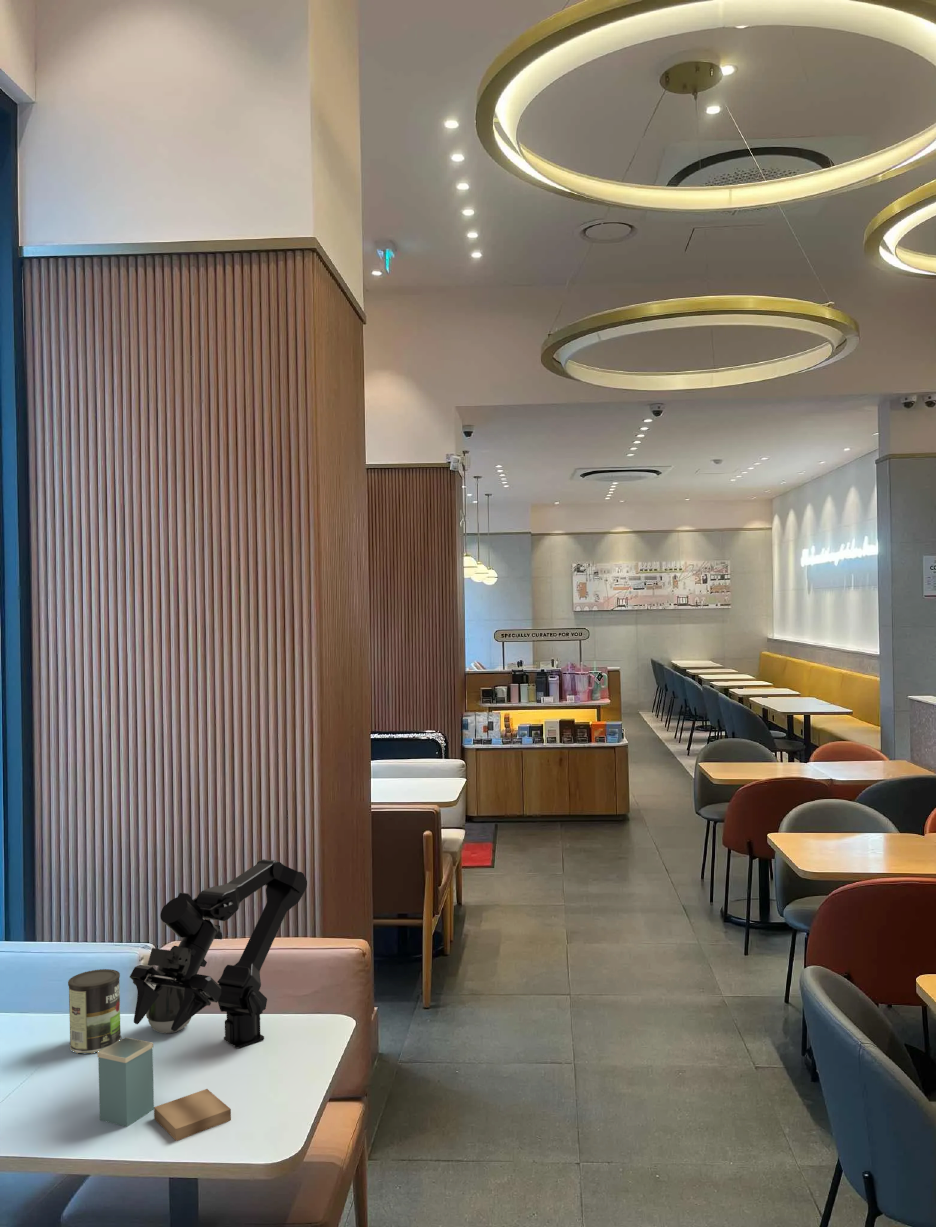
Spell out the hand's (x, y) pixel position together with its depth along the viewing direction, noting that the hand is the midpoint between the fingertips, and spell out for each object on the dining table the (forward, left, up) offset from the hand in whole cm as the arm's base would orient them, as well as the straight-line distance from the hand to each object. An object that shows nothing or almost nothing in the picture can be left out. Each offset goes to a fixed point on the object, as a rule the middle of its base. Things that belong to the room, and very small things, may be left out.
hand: (153, 1027), depth 175 cm
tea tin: (+6, +3, -13) cm, 15 cm away
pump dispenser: (-15, -28, -13) cm, 34 cm away
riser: (-2, +13, -13) cm, 19 cm away
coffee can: (0, -32, -13) cm, 35 cm away
